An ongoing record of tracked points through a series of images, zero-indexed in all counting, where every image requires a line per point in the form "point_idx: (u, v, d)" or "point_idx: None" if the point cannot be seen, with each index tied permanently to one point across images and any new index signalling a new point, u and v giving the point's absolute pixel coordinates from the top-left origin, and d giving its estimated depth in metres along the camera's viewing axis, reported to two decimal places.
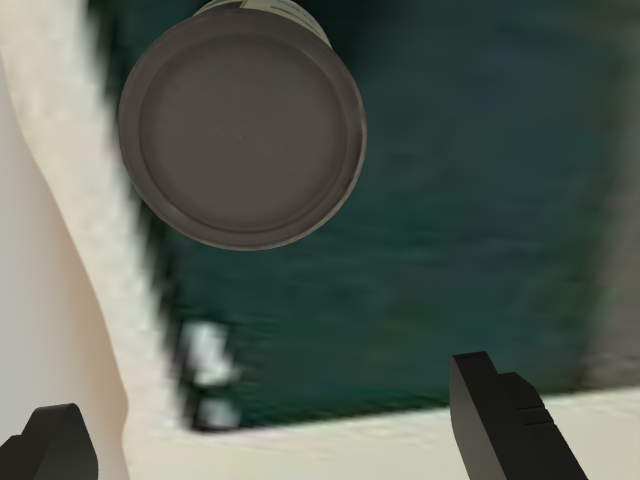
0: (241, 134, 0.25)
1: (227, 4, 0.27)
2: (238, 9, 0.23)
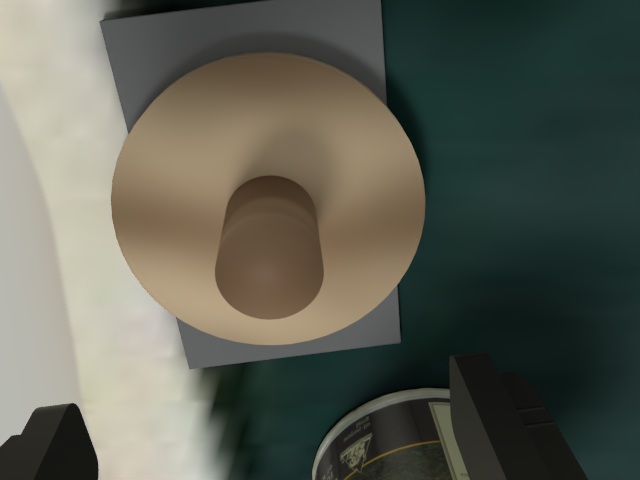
0: None
1: None
2: None
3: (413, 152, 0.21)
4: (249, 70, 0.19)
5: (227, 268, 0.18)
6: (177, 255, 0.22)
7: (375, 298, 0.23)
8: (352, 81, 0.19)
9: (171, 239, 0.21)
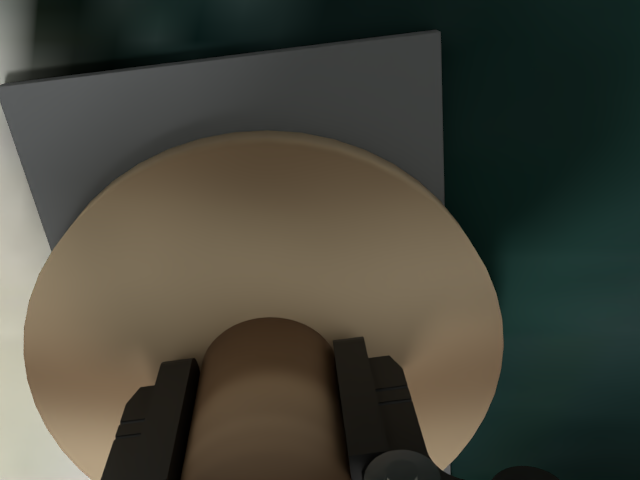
0: None
1: None
2: None
3: (489, 281, 0.13)
4: (234, 166, 0.12)
5: None
6: None
7: None
8: (398, 180, 0.12)
9: (119, 406, 0.14)
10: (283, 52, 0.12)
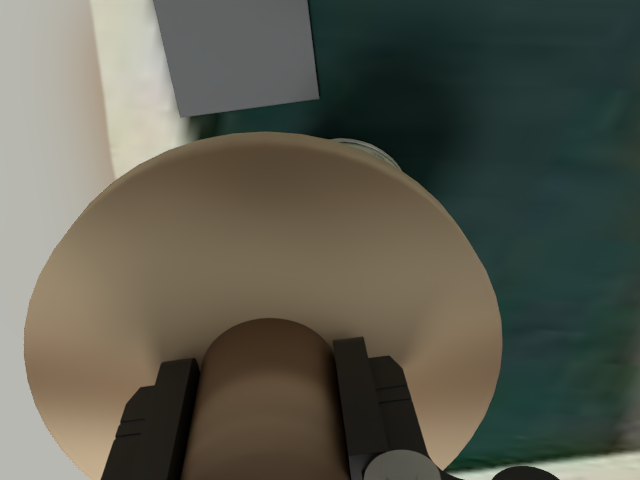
0: None
1: None
2: None
3: (488, 282, 0.13)
4: (234, 167, 0.12)
5: None
6: None
7: None
8: (397, 181, 0.12)
9: (120, 407, 0.14)
10: None
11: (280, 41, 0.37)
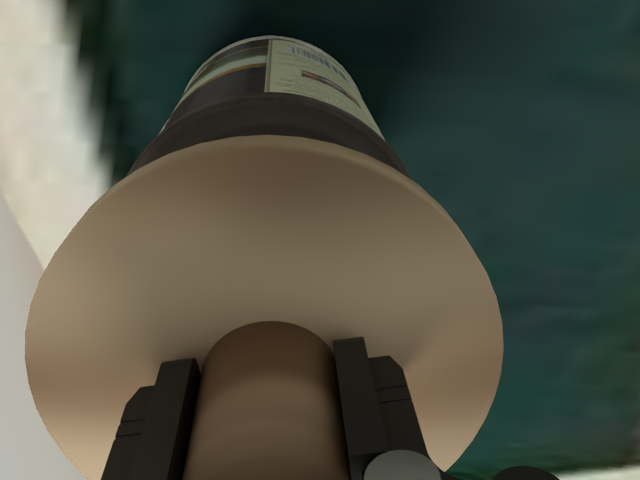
0: None
1: (248, 72, 0.22)
2: (267, 95, 0.18)
3: (489, 285, 0.13)
4: (235, 170, 0.12)
5: None
6: None
7: None
8: (399, 184, 0.12)
9: (120, 410, 0.14)
10: None
11: None
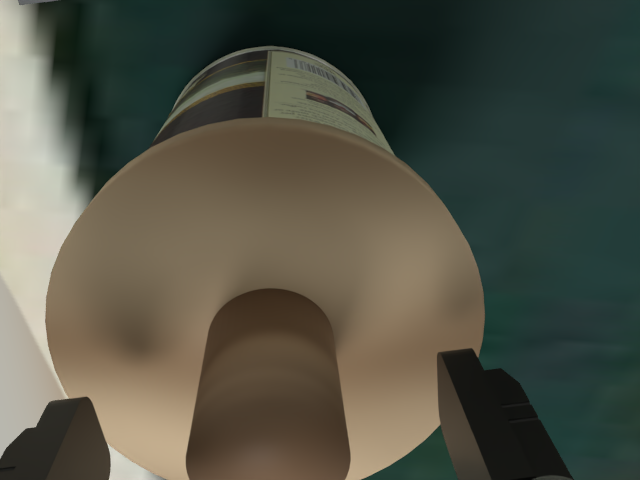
0: None
1: (242, 94, 0.18)
2: None
3: (471, 256, 0.15)
4: (240, 148, 0.13)
5: (204, 456, 0.12)
6: (140, 391, 0.16)
7: (411, 440, 0.17)
8: (388, 162, 0.14)
9: (132, 371, 0.15)
10: None
11: None
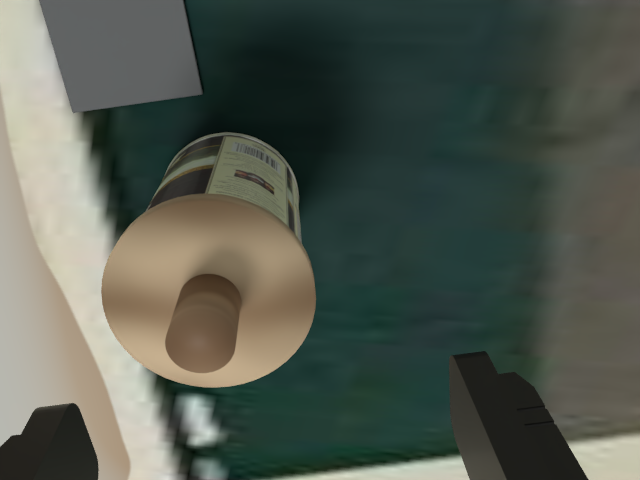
0: None
1: (200, 174, 0.35)
2: None
3: (303, 256, 0.31)
4: (189, 209, 0.29)
5: (173, 341, 0.28)
6: (147, 327, 0.32)
7: (287, 353, 0.33)
8: (257, 213, 0.30)
9: (142, 316, 0.32)
10: None
11: (161, 40, 0.40)
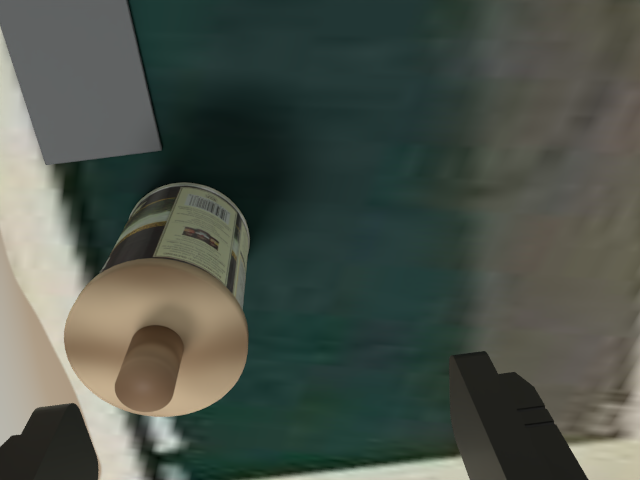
0: None
1: (152, 232, 0.40)
2: None
3: (235, 310, 0.36)
4: (136, 274, 0.35)
5: (121, 387, 0.33)
6: (104, 368, 0.37)
7: (225, 388, 0.39)
8: (194, 276, 0.35)
9: (100, 360, 0.37)
10: None
11: (123, 104, 0.45)
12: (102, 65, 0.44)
